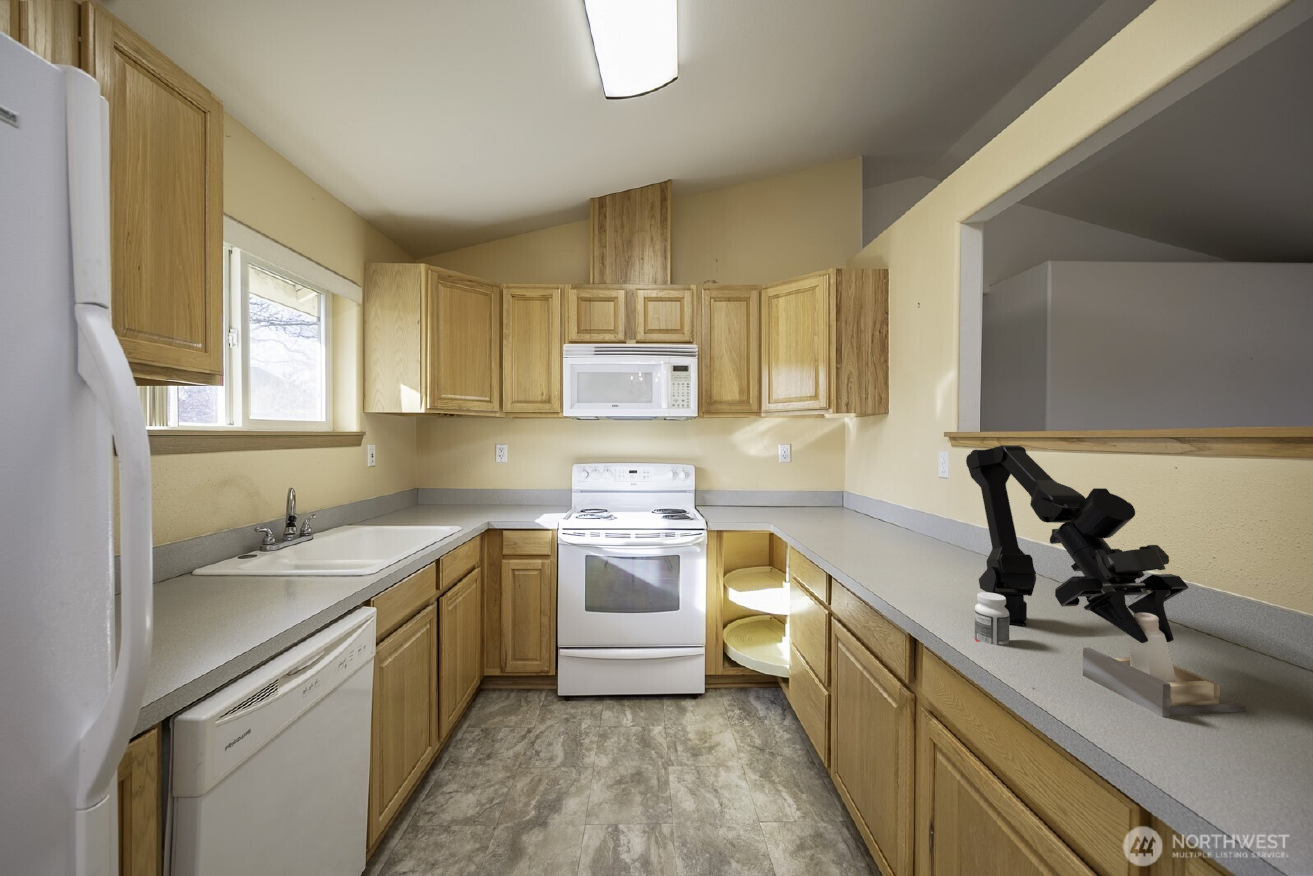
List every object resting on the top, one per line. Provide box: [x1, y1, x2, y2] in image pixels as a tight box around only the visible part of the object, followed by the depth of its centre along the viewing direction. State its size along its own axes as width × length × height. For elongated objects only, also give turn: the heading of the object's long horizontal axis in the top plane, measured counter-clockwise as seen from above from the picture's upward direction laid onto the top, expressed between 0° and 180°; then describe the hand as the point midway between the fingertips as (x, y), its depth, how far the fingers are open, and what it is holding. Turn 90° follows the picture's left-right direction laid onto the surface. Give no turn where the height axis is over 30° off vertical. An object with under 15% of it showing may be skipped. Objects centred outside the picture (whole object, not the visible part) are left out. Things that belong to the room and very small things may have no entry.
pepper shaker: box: [1129, 613, 1177, 683], centre depth 77 cm, size 5×5×11 cm
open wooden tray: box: [1082, 646, 1247, 718], centre depth 79 cm, size 16×16×6 cm
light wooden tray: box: [1113, 656, 1221, 707], centre depth 77 cm, size 9×9×4 cm
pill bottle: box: [974, 591, 1010, 646], centre depth 97 cm, size 6×6×10 cm
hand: (1157, 641), depth 75 cm, fingers closed on pepper shaker, 4 cm apart
